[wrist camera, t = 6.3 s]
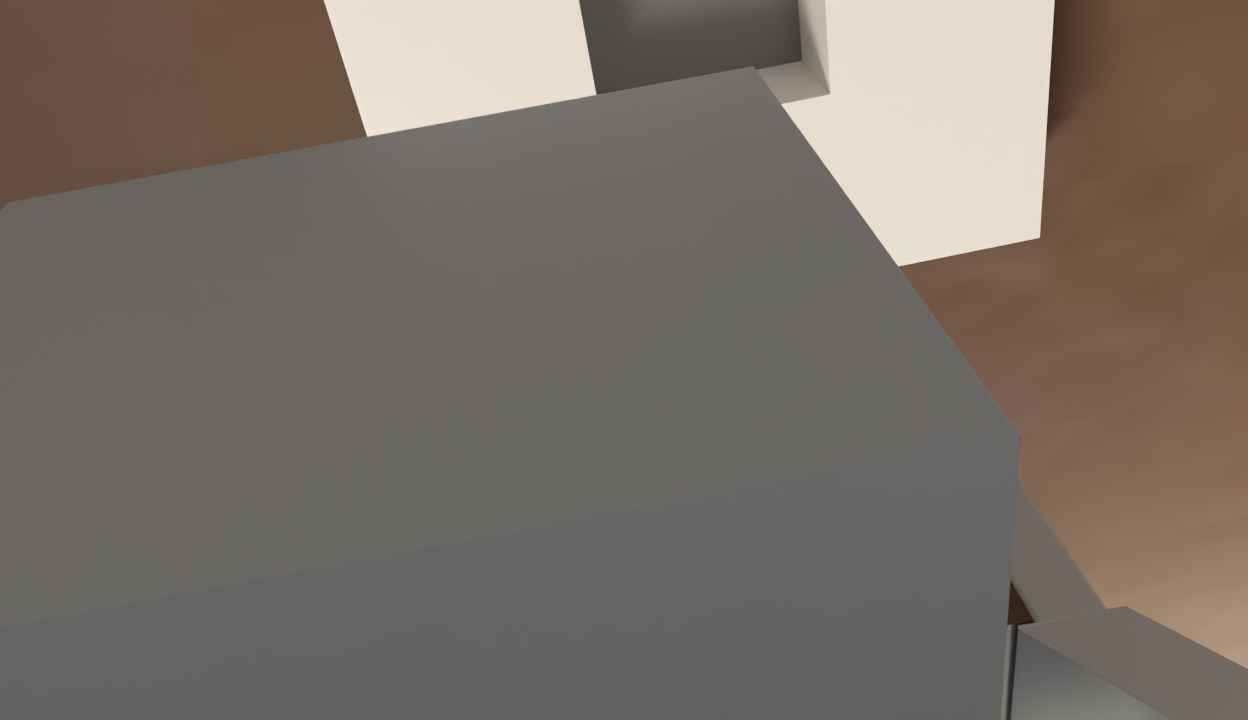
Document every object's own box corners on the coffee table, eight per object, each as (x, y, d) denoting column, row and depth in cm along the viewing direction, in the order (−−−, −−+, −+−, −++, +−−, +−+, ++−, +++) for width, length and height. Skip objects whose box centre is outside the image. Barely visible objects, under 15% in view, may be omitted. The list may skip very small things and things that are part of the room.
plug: (120, 85, 11) (-482, 718, 4) (691, -19, 11) (1018, 435, 4) (400, 753, 17) (341, 1460, 10) (769, 683, 17) (956, 1337, 10)
